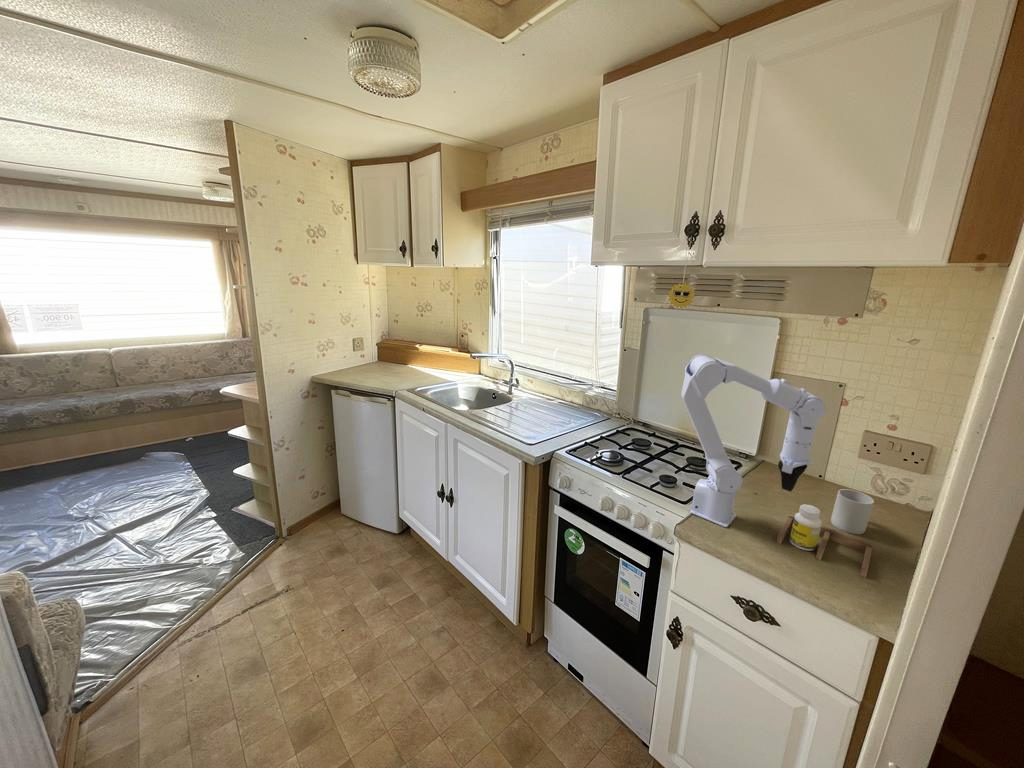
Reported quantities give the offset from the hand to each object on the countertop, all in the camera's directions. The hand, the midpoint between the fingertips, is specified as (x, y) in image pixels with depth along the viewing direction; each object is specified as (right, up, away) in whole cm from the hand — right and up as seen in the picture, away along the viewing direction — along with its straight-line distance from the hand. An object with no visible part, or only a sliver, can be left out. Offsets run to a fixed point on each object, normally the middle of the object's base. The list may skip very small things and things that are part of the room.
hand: (787, 489), depth 107 cm
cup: (+18, -10, +3) cm, 21 cm away
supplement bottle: (0, -12, -6) cm, 14 cm away
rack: (+4, -12, -7) cm, 15 cm away
